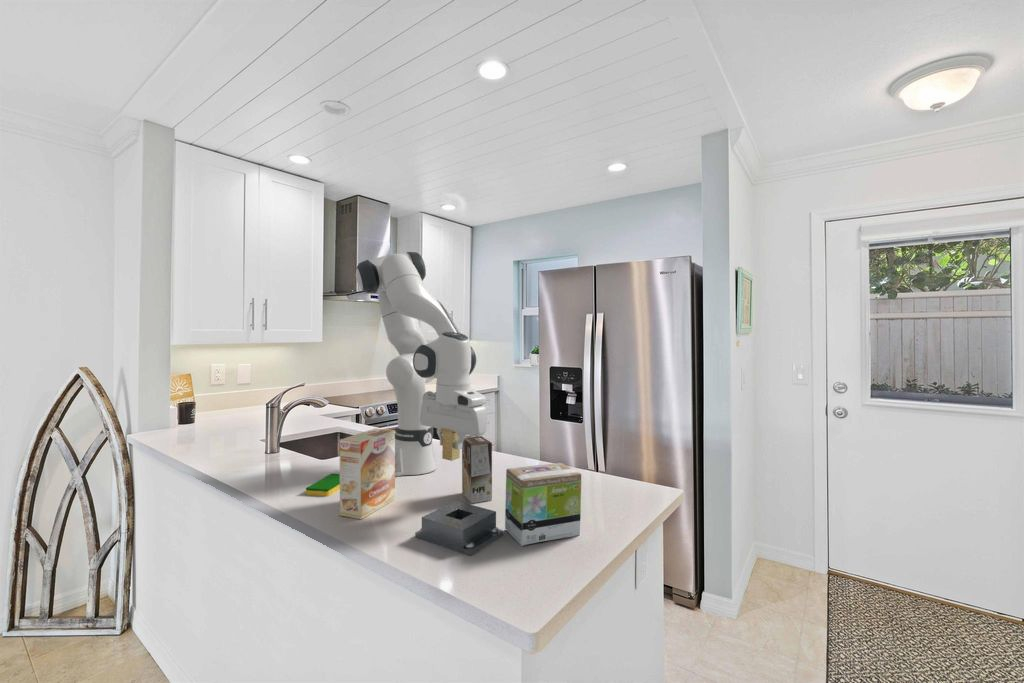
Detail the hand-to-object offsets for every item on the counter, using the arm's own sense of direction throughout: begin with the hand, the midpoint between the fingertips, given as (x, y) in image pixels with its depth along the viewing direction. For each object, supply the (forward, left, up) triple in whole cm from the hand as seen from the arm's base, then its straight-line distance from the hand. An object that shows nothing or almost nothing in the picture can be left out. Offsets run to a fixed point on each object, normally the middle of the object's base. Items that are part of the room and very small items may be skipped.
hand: (451, 447), depth 124 cm
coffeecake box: (-19, -11, -17) cm, 27 cm away
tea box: (+27, +1, -17) cm, 32 cm away
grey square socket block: (+12, -11, -16) cm, 23 cm away
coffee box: (0, +11, -17) cm, 20 cm away
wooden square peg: (0, 0, -3) cm, 3 cm away
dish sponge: (-41, -7, -17) cm, 45 cm away
